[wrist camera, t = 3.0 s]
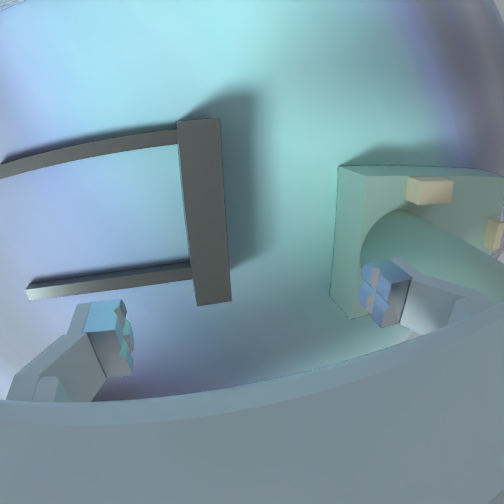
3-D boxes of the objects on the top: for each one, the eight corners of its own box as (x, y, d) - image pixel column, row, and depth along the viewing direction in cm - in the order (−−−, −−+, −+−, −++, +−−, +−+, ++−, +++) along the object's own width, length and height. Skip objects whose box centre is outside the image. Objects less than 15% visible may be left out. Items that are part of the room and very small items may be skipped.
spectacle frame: (222, 274, 25) (231, 301, 22) (35, 299, 22) (20, 326, 18) (210, 118, 20) (219, 118, 17) (-1, 158, 17) (-28, 167, 13)
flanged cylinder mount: (463, 263, 33) (568, 339, 17) (329, 295, 29) (450, 443, 13) (480, 169, 28) (609, 225, 12) (338, 166, 24) (544, 262, 8)
